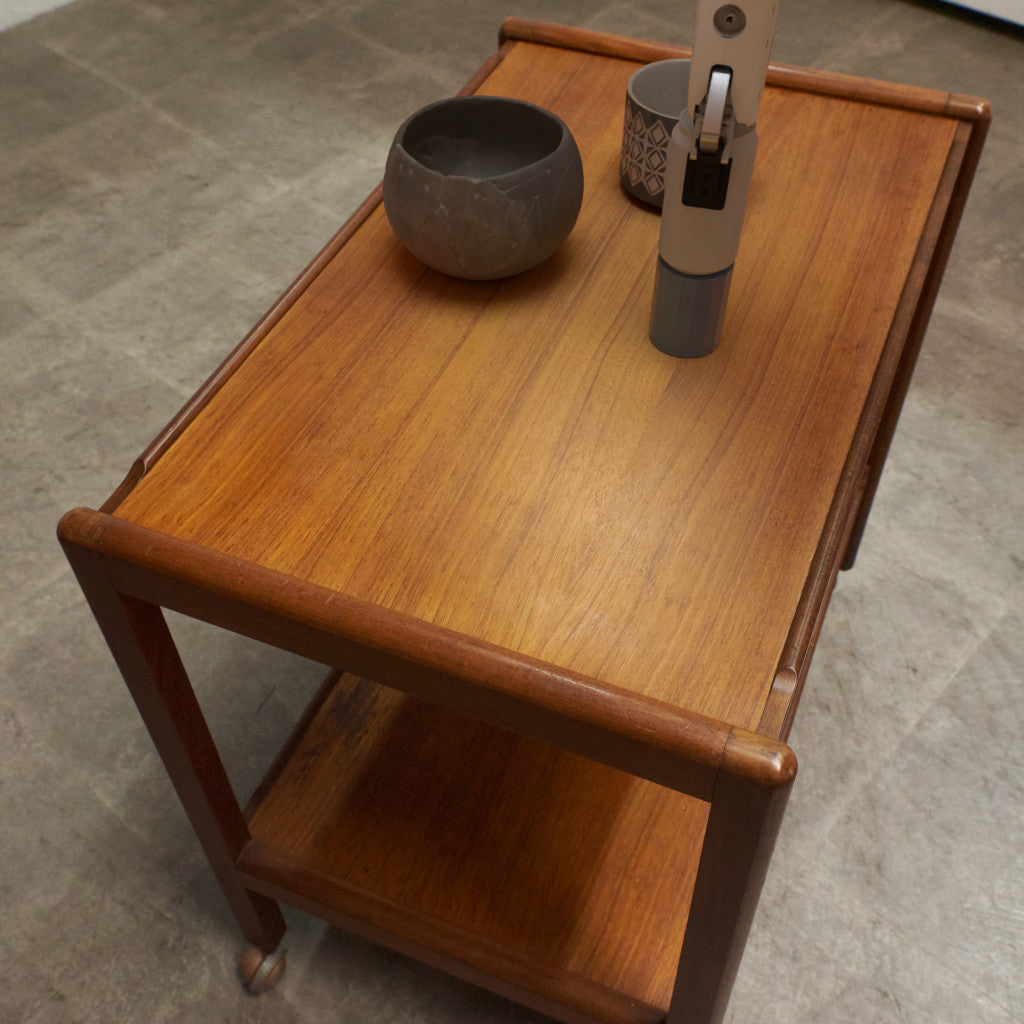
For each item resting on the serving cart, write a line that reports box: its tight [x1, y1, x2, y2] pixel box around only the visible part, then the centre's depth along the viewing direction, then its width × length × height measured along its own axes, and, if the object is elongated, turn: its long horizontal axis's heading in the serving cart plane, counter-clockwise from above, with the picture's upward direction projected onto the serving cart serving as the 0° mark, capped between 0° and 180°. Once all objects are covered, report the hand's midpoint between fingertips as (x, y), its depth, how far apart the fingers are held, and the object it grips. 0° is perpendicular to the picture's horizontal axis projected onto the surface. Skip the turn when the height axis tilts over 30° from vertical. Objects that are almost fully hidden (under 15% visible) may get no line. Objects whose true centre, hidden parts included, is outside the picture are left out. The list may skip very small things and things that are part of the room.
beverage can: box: [657, 104, 760, 275], centre depth 82 cm, size 6×6×12 cm
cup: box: [648, 252, 736, 359], centre depth 90 cm, size 6×6×8 cm
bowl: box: [382, 94, 585, 281], centre depth 96 cm, size 18×18×13 cm
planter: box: [618, 57, 691, 209], centre depth 105 cm, size 13×13×10 cm
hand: (709, 179), depth 81 cm, fingers closed on beverage can, 6 cm apart
